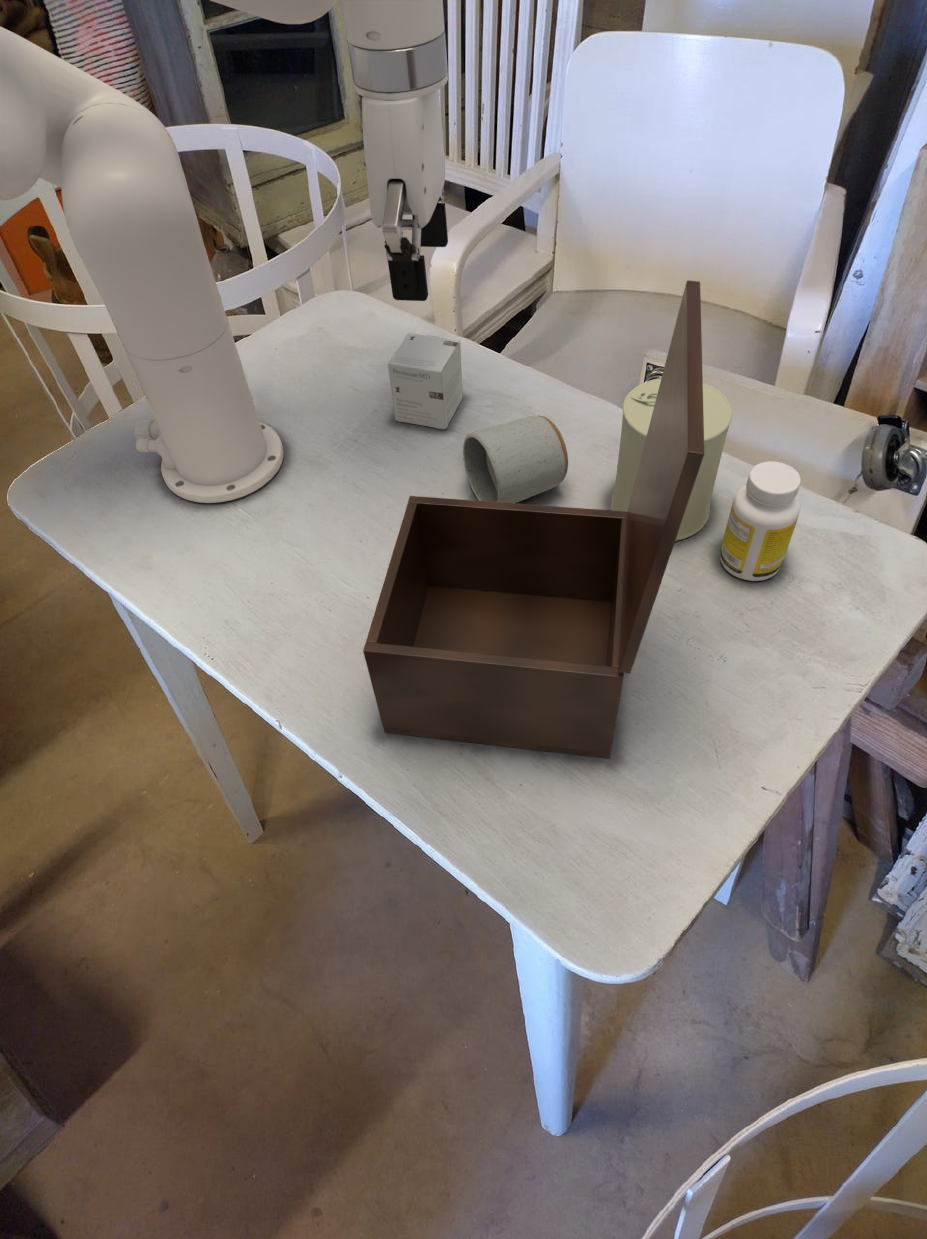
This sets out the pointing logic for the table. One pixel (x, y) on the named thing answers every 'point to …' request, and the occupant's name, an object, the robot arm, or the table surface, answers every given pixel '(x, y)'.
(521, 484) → the ceramic mug
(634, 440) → the can
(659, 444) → the lid
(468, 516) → the chest
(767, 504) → the supplement bottle
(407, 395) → the white cardboard box
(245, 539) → the table surface
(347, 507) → the table surface
